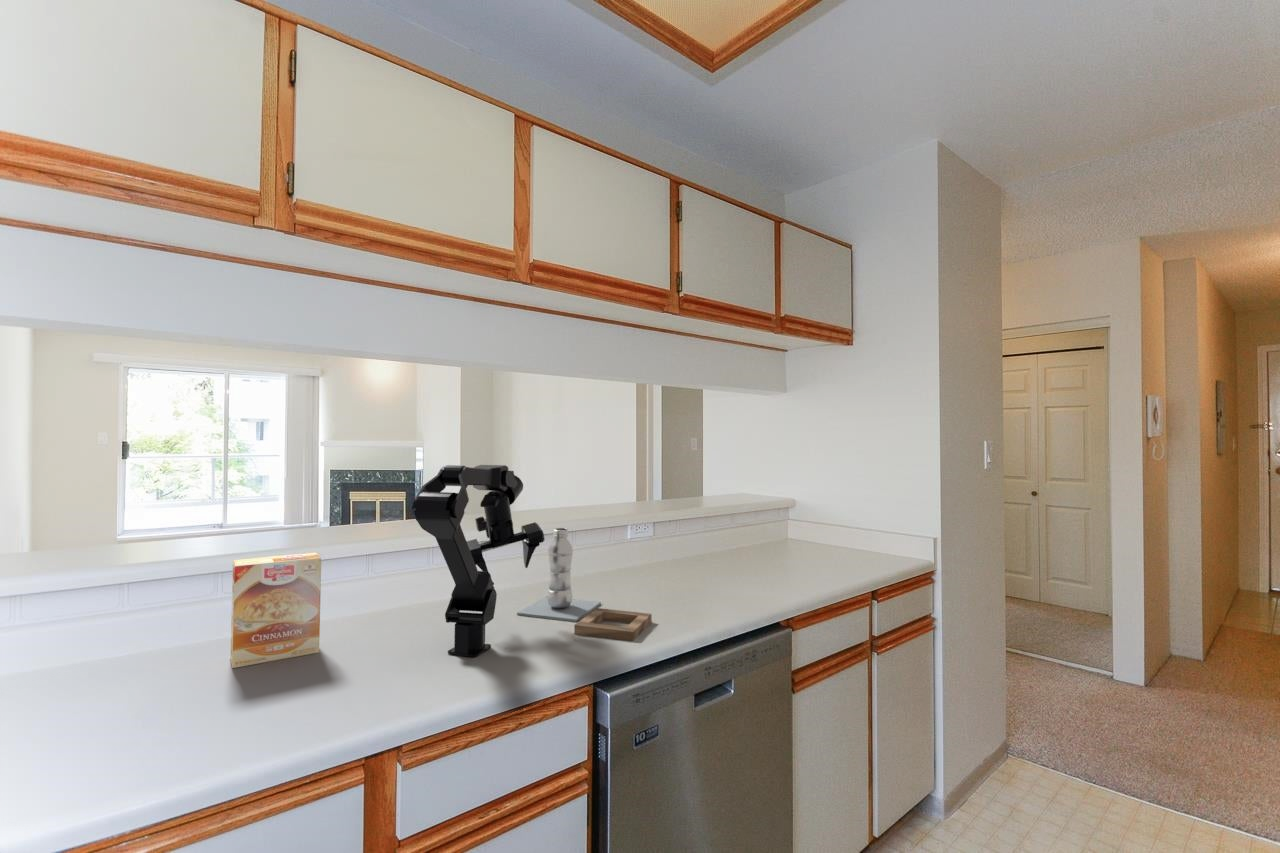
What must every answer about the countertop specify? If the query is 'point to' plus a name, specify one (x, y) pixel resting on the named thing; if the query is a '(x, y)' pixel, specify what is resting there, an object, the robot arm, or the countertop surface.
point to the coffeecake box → (275, 608)
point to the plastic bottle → (560, 570)
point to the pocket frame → (630, 632)
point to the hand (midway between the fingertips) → (507, 572)
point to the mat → (559, 610)
